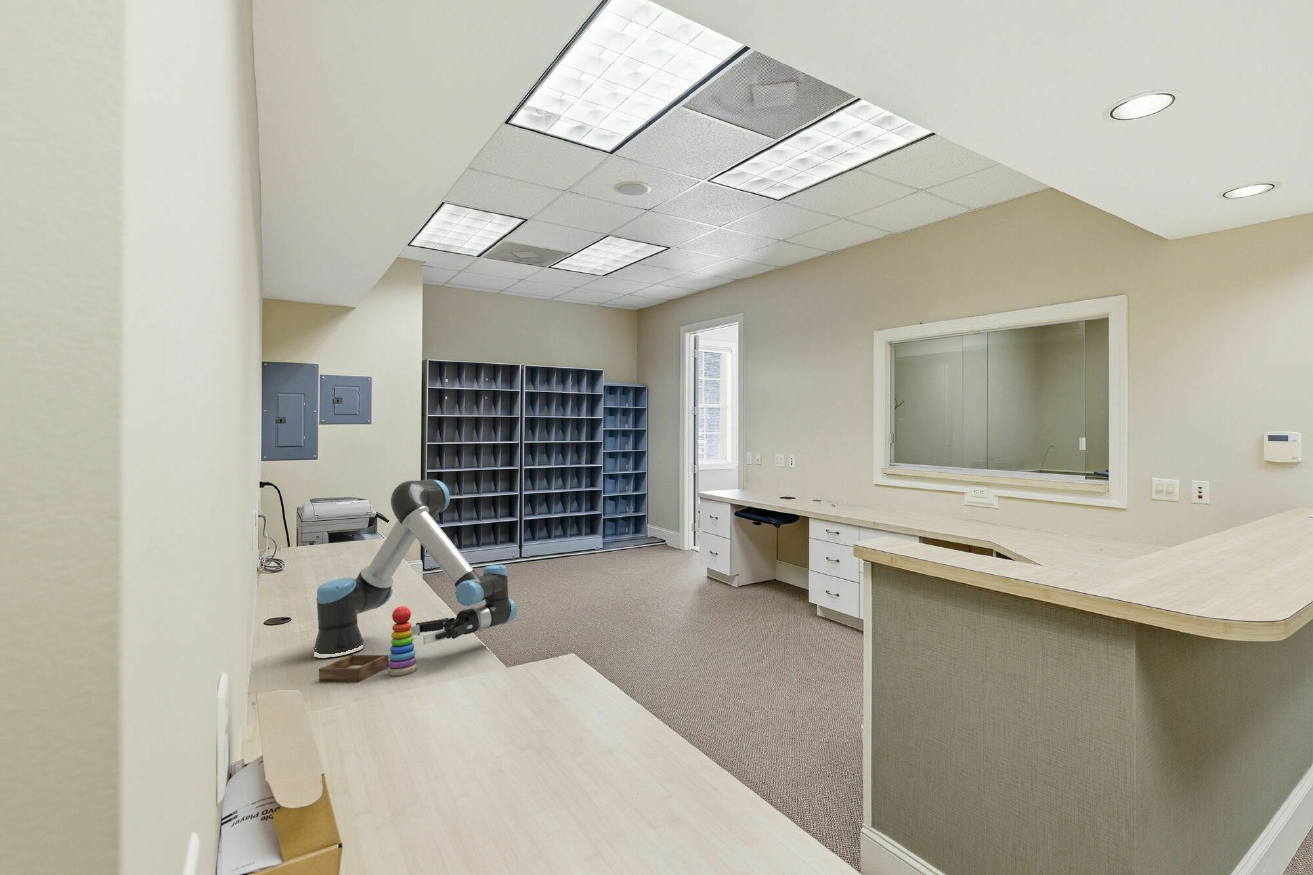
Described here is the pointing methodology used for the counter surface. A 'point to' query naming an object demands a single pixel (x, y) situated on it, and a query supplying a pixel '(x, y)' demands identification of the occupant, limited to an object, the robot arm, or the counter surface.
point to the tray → (353, 668)
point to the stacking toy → (402, 644)
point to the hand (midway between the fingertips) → (411, 637)
